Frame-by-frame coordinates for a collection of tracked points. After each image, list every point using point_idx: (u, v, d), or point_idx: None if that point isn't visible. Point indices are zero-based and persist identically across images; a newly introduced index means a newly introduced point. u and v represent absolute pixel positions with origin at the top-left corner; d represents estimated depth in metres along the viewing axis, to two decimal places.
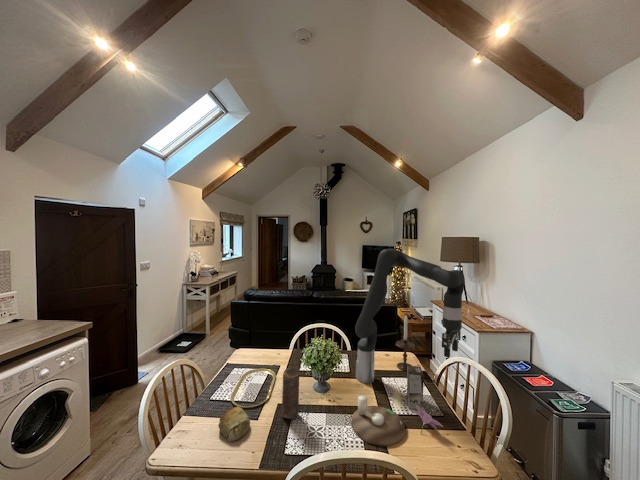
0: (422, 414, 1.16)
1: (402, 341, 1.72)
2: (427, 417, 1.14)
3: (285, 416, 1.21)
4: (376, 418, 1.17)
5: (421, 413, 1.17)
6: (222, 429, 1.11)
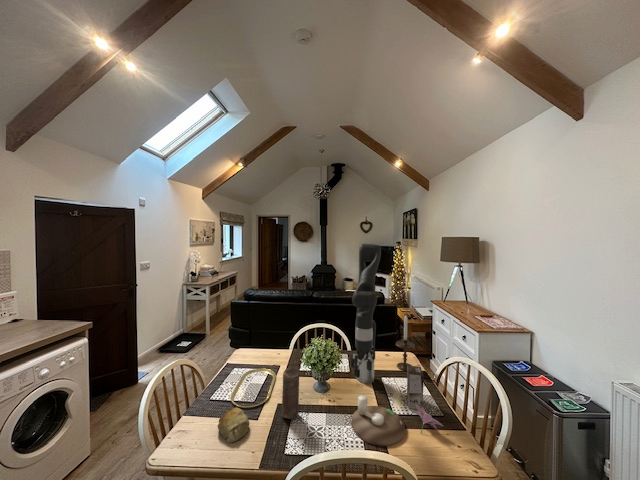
0: (422, 414, 1.17)
1: (402, 341, 1.72)
2: (427, 417, 1.14)
3: (285, 416, 1.21)
4: (376, 418, 1.17)
5: (421, 413, 1.17)
6: (221, 430, 1.11)
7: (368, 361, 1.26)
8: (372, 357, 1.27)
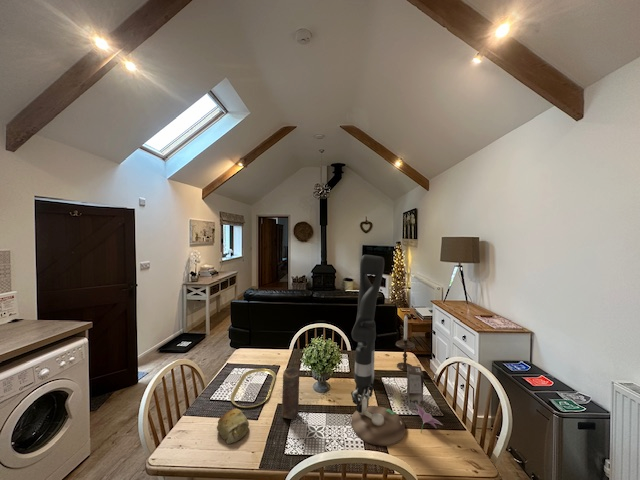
0: (422, 413, 1.17)
1: (402, 341, 1.72)
2: (427, 416, 1.15)
3: (285, 416, 1.21)
4: (376, 418, 1.17)
5: (421, 412, 1.17)
6: (221, 431, 1.10)
7: None
8: None
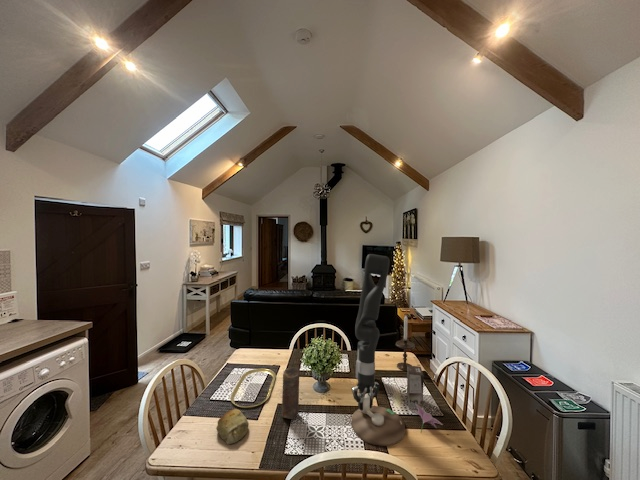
0: (422, 413, 1.17)
1: (402, 341, 1.72)
2: (427, 416, 1.15)
3: (285, 416, 1.21)
4: (376, 418, 1.17)
5: (421, 412, 1.18)
6: (220, 432, 1.10)
7: None
8: (374, 394, 1.26)
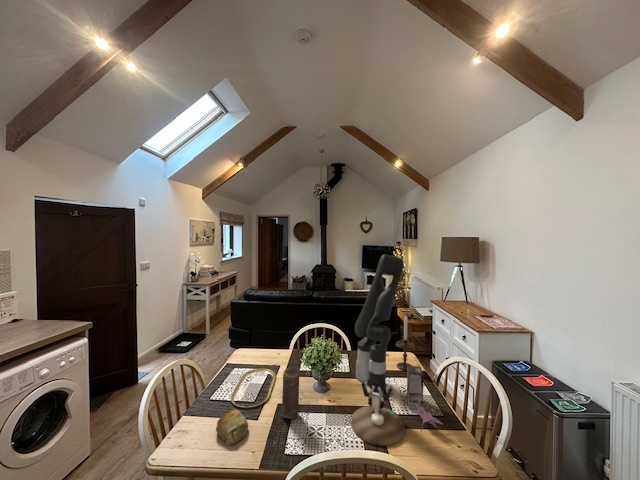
0: (422, 412, 1.17)
1: (402, 341, 1.72)
2: (427, 415, 1.15)
3: (285, 416, 1.21)
4: (375, 417, 1.18)
5: (421, 411, 1.18)
6: (220, 433, 1.09)
7: None
8: (385, 397, 1.24)
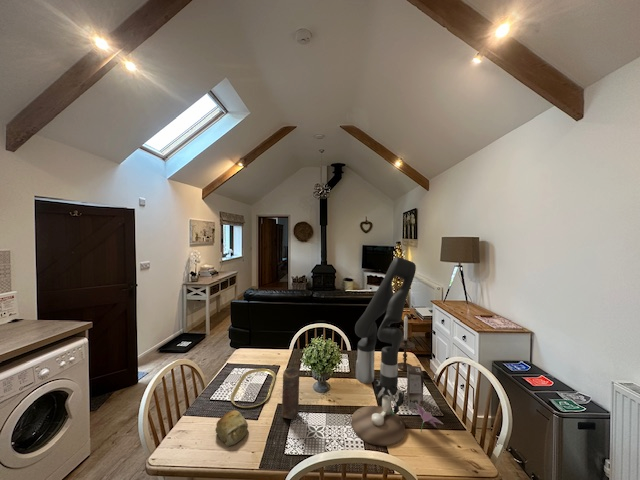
0: (422, 412, 1.18)
1: (402, 341, 1.72)
2: (427, 415, 1.15)
3: (285, 416, 1.21)
4: (375, 416, 1.19)
5: (421, 411, 1.18)
6: (219, 433, 1.09)
7: None
8: None
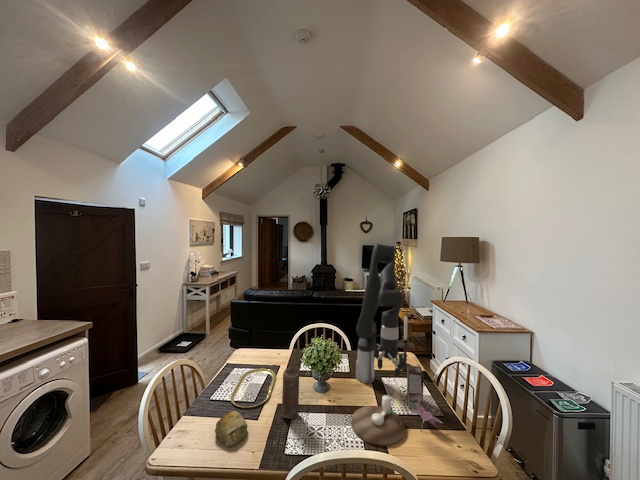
0: (422, 412, 1.18)
1: (402, 341, 1.72)
2: (427, 414, 1.16)
3: (285, 416, 1.21)
4: (375, 416, 1.19)
5: (421, 411, 1.18)
6: (219, 434, 1.08)
7: None
8: None
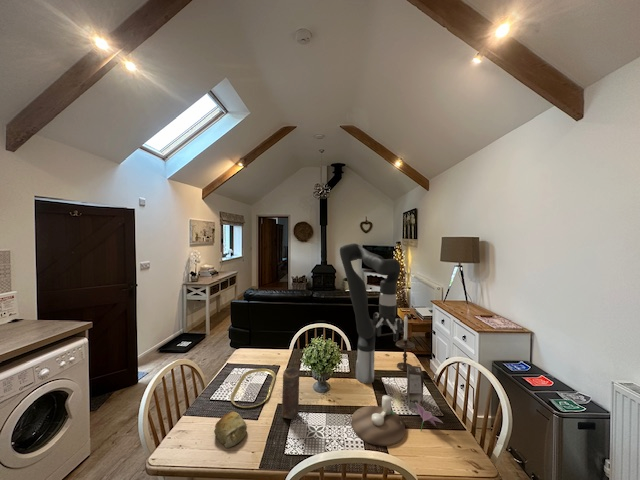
0: (422, 411, 1.18)
1: (402, 341, 1.72)
2: (427, 414, 1.16)
3: (285, 416, 1.21)
4: (375, 416, 1.19)
5: (421, 410, 1.19)
6: (218, 435, 1.08)
7: None
8: None
